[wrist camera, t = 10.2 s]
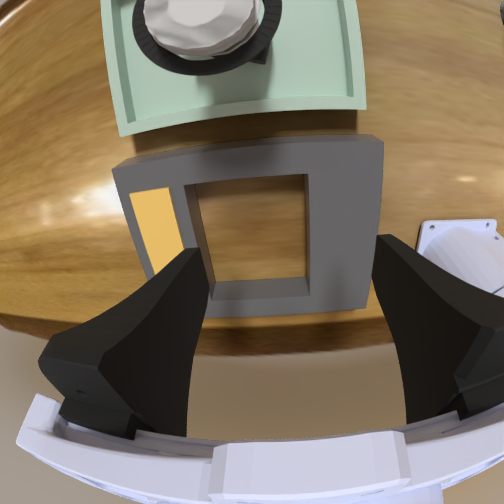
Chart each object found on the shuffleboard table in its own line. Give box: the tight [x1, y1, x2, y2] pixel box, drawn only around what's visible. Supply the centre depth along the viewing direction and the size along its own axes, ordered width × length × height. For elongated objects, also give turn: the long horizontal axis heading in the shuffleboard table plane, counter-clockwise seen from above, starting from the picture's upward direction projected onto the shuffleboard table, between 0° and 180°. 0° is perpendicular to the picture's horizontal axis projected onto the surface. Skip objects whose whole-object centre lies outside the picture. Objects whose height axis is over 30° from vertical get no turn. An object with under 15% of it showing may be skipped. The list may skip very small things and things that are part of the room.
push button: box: [132, 0, 282, 76], centre depth 10 cm, size 7×5×10 cm
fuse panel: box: [112, 134, 384, 318], centre depth 21 cm, size 18×14×3 cm
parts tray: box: [101, 0, 366, 137], centre depth 14 cm, size 16×12×2 cm
